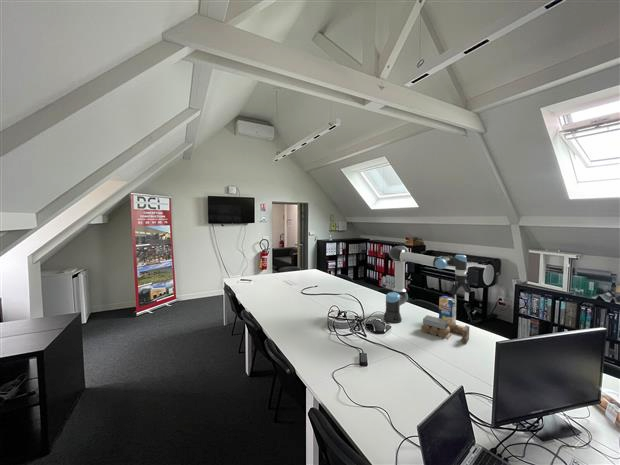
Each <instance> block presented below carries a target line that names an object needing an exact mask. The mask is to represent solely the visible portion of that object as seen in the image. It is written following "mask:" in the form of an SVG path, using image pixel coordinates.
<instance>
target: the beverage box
mask: <svg viewBox="0 0 620 465" xmlns="http://www.w3.org/2000/svg"><path fill="white" fill-rule="evenodd" d="M438 298H439V300H438V302H439V303H438V318H441V319H445V320H449V326H450V323H452V324H456V325H457V323H456V321H457V320H456V319H457V302H456V303H453V302H452V296H451V297H450V296H446V295H442V296H439V297H438ZM449 326H448V327H449Z"/></svg>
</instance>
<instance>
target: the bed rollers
mask: <svg viewBox="0 0 620 465" xmlns="http://www.w3.org/2000/svg"><path fill="white" fill-rule="evenodd" d="M421 331H422V333H424V334H428V333H430V335H431V336H437V335H438V337H439V338H442V339H445V338H447V337H448V335H449V334H450V333H451V331H450V328H449V326H448V327H447V328H446V329H445V330H444V329H440V328H437V327H433V326H429V325H426V324H423V325H422V326H421Z"/></svg>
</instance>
